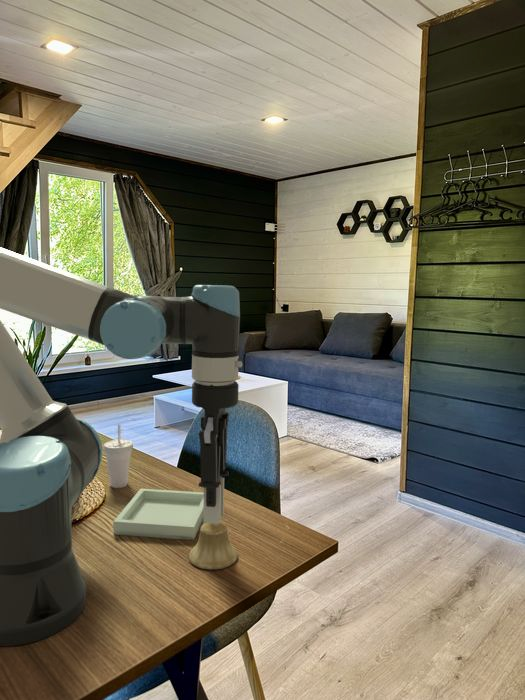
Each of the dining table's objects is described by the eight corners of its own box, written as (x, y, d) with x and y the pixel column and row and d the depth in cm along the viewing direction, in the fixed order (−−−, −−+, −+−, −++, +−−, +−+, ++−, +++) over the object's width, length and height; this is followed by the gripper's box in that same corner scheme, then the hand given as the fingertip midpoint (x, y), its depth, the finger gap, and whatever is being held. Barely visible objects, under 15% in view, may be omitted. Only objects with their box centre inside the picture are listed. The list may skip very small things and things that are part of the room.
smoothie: (137, 480, 118) (136, 421, 116) (127, 491, 112) (126, 429, 110) (110, 478, 119) (109, 420, 117) (99, 489, 112) (98, 428, 110)
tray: (193, 540, 91) (194, 527, 91) (113, 534, 93) (113, 521, 92) (210, 504, 106) (210, 492, 106) (140, 499, 108) (140, 488, 107)
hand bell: (230, 572, 81) (232, 477, 79) (181, 566, 83) (182, 472, 81) (242, 547, 89) (244, 460, 87) (197, 541, 91) (198, 455, 89)
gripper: (230, 392, 74) (228, 543, 77) (244, 373, 89) (242, 499, 93) (180, 389, 75) (180, 539, 78) (202, 371, 90) (201, 497, 93)
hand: (213, 517), depth 85 cm, fingers closed on hand bell, 2 cm apart
